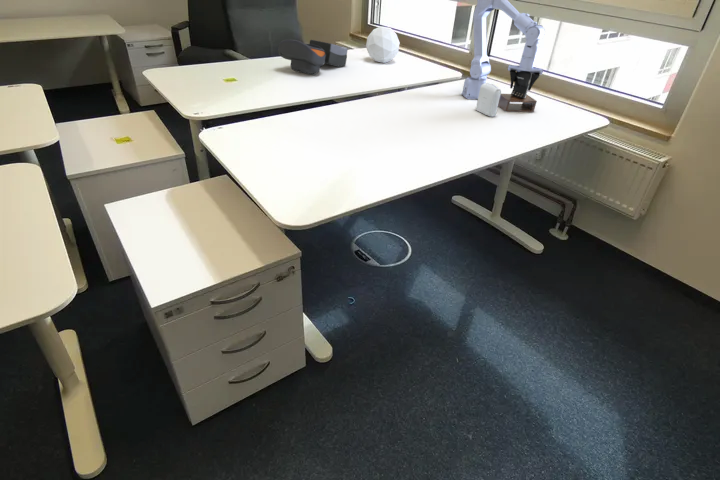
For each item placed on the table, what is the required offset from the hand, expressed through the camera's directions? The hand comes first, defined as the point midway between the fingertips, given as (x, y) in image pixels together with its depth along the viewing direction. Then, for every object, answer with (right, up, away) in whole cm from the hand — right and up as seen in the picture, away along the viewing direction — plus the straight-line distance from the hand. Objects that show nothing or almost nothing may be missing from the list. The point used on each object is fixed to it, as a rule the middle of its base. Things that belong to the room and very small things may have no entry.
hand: (520, 89), depth 192 cm
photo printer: (-17, -12, -4) cm, 21 cm away
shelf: (-1, -7, +5) cm, 9 cm away
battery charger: (0, -3, +2) cm, 4 cm away
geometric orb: (-59, +39, +65) cm, 96 cm away
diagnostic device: (-95, +25, +41) cm, 107 cm away
